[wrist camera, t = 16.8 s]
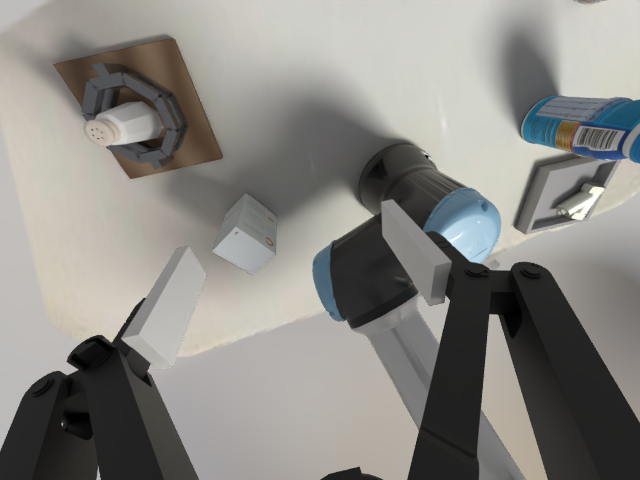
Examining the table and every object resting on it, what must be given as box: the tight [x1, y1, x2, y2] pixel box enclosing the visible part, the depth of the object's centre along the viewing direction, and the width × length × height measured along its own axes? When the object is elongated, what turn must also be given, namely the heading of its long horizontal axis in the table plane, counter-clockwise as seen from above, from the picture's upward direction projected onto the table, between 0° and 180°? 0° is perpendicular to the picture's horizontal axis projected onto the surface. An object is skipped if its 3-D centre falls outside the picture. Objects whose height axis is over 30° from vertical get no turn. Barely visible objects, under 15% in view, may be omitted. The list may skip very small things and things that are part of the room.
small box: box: [212, 193, 277, 275], centre depth 43 cm, size 8×6×13 cm
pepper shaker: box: [84, 101, 163, 146], centre depth 31 cm, size 5×5×11 cm
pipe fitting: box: [556, 182, 607, 220], centre depth 55 cm, size 8×4×7 cm
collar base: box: [53, 38, 223, 179], centre depth 36 cm, size 16×16×1 cm
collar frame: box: [82, 63, 189, 169], centre depth 34 cm, size 10×13×5 cm
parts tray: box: [516, 157, 622, 235], centre depth 54 cm, size 16×16×3 cm
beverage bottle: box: [521, 95, 640, 163], centre depth 37 cm, size 8×8×20 cm
